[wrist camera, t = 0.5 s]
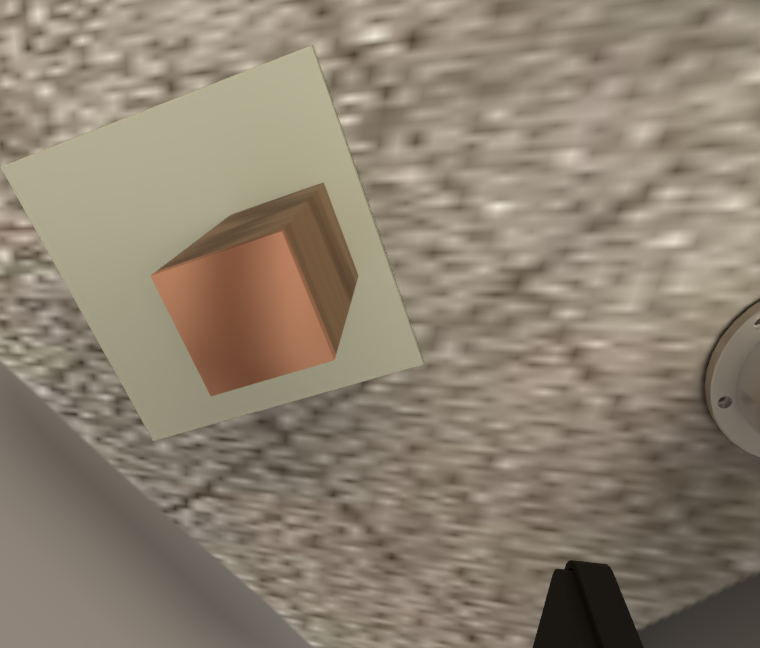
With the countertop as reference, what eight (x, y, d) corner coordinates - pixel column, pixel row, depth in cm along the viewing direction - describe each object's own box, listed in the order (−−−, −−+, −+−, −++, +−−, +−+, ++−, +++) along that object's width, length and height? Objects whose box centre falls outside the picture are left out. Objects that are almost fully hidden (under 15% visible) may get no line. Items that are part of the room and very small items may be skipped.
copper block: (323, 182, 35) (281, 231, 24) (358, 275, 37) (334, 360, 26) (230, 214, 36) (150, 275, 25) (269, 303, 38) (210, 396, 27)
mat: (313, 45, 33) (311, 45, 33) (423, 361, 40) (423, 364, 40) (5, 165, 37) (0, 167, 36) (156, 437, 43) (153, 441, 43)
